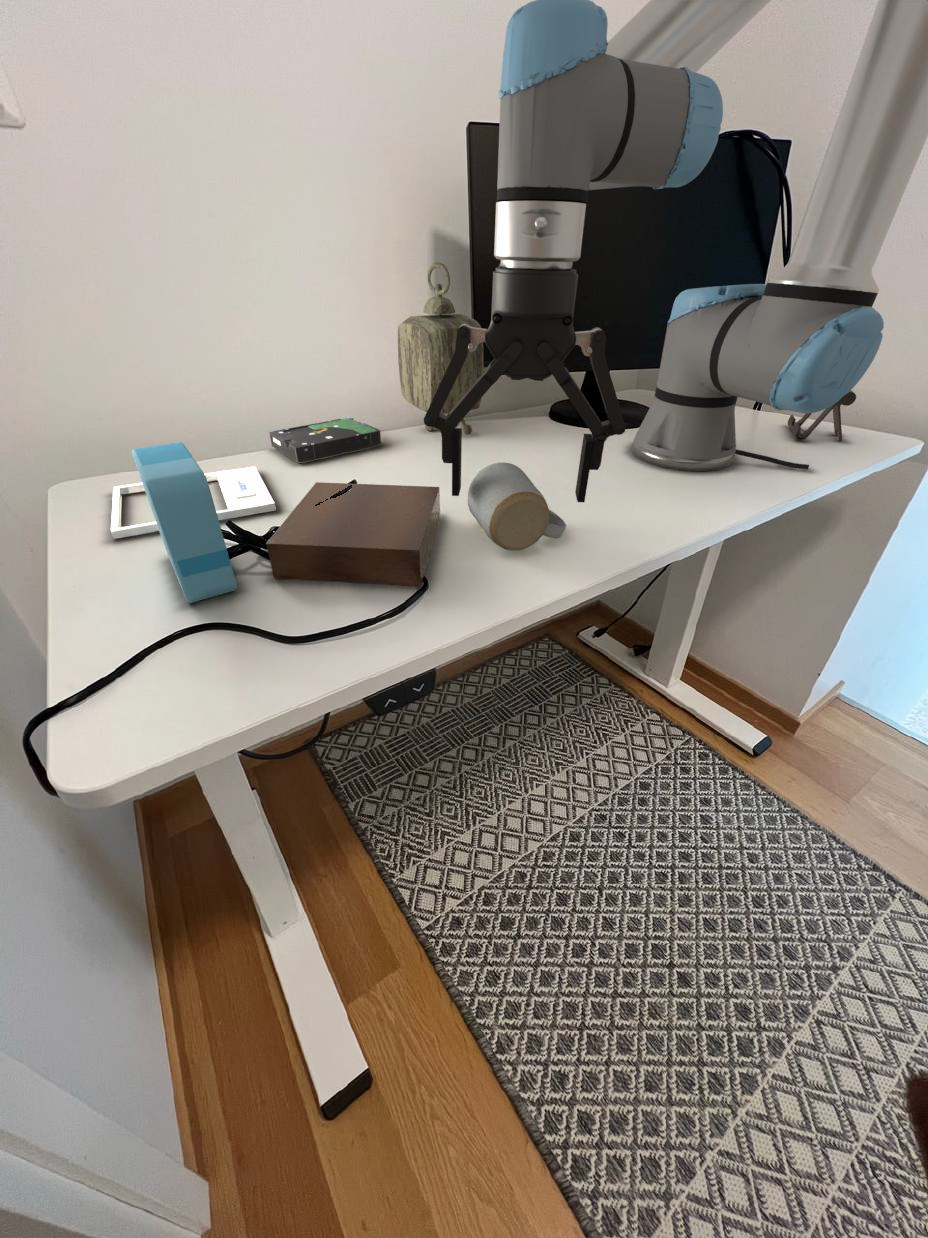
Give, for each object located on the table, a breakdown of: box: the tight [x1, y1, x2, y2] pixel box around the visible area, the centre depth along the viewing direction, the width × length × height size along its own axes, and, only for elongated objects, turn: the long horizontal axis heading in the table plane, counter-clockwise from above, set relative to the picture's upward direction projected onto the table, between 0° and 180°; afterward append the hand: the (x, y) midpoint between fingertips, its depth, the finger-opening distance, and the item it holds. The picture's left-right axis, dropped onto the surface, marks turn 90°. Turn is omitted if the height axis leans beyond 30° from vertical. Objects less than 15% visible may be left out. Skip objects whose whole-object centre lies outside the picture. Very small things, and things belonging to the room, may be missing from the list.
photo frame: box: [110, 466, 277, 540], centre depth 70 cm, size 15×1×18 cm
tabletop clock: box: [397, 261, 485, 435], centre depth 90 cm, size 14×9×25 cm, turn 30°
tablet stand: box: [786, 389, 857, 442], centre depth 93 cm, size 9×8×8 cm
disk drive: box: [268, 417, 382, 464], centre depth 88 cm, size 10×3×15 cm
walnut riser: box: [265, 481, 441, 587], centre depth 60 cm, size 15×16×4 cm
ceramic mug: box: [466, 462, 567, 551], centre depth 61 cm, size 11×8×8 cm
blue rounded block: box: [131, 441, 238, 604], centre depth 52 cm, size 12×4×12 cm, turn 33°
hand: (517, 494), depth 60 cm, fingers open, 13 cm apart
